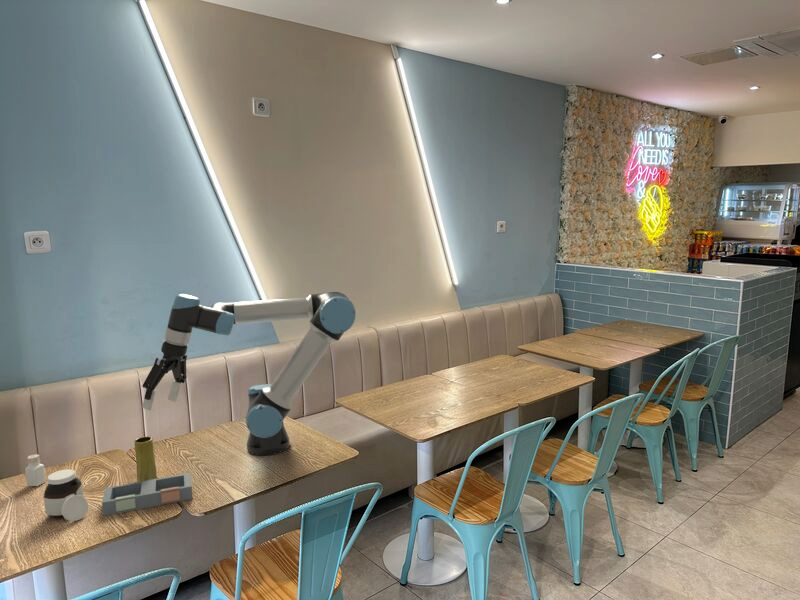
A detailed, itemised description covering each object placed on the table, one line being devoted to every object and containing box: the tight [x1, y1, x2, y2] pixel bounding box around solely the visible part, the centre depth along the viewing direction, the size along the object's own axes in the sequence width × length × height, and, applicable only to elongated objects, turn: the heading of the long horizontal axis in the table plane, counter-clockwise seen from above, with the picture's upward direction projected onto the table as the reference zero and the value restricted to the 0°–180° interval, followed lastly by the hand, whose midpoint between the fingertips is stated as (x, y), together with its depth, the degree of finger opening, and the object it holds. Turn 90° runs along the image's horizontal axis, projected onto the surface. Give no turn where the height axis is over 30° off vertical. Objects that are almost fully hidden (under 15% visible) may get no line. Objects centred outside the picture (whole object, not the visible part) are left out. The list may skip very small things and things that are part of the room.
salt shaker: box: [24, 453, 47, 487], centre depth 186 cm, size 4×4×10 cm
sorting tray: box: [101, 472, 193, 517], centre depth 174 cm, size 24×10×4 cm, turn 111°
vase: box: [133, 436, 158, 482], centre depth 185 cm, size 6×6×14 cm
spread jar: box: [43, 469, 89, 522], centre depth 166 cm, size 12×11×12 cm
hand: (159, 404), depth 189 cm, fingers open, 13 cm apart
